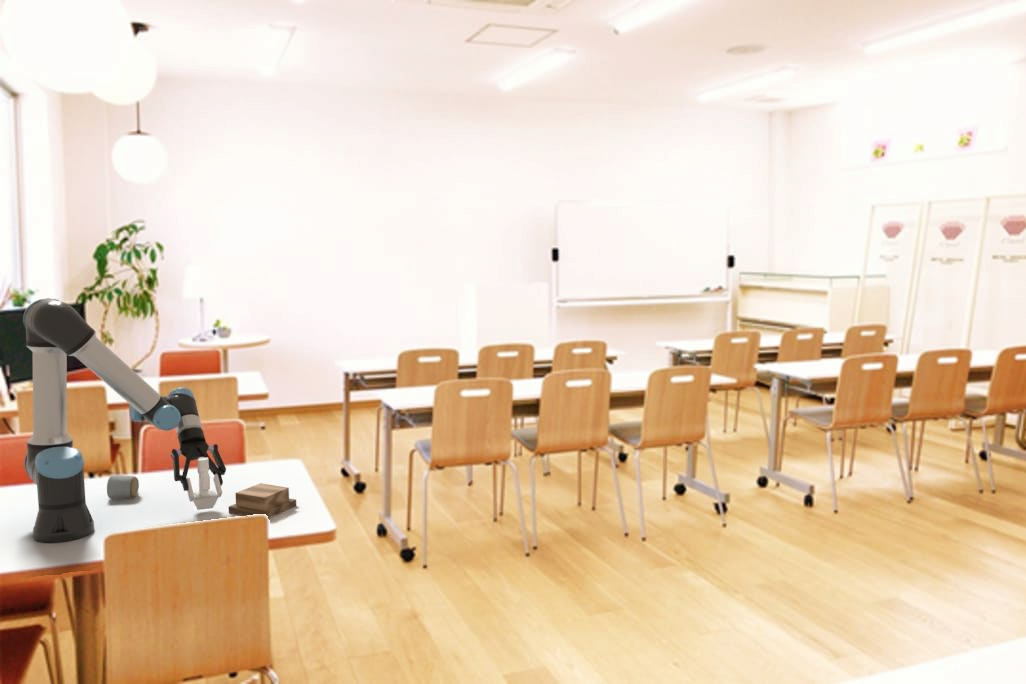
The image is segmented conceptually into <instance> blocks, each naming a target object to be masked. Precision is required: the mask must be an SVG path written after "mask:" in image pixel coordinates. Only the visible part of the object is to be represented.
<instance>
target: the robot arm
mask: <svg viewBox="0 0 1026 684" xmlns="http://www.w3.org/2000/svg"><path fill="white" fill-rule="evenodd" d="M22 322H23V326H24V328H25V332H26V333H25V336H26V337H25V338H26V339H25V340H26V343H25V344H26V348H28V349H29V350H30V351H31V352H32V435H31V437H29V438H28V439H27V442H26V445H27V446H26V451H27V452H26V454H25V457H24V461H23V465H24V470H25V473H26V474H27V476H28V477H29V478H30V480H32V481H33V483H35V485H36V489H37V504H38V511H37V514H36V515H37V516H36V518H35V522H34V526H33V528H32V529H33V530H32V536H33V540H35V541H37V542H40V543H60V542H61V543H62V542H69V541H73V540H78V539H80V538H83V537H87V536H88V535H90V534H92V533H93V532H94V530H95V522H94V519H93V517H92V515H91V512H90V510H89V507H88V506H87V504H86V503H87V501H86V487H85V484H86V483H85V472H84V469H85V467H84V465H85V461H84V458H83V457H84V456H83V453H82V452H81V451H80V450H79V449H78V448H76V447H74V445H73V444H74V443H73V442H74V441H73V440H74V438H73V437H72V436H71V435H70V434H68V428H67V427H68V419H67V418H68V414H67V413H68V411H67V410H68V409H67V408H68V401H67V400H68V397H67V396H68V394H67V392H68V391H67V390H68V389H67V387H68V385H67V382H68V380H67V379H68V378H67V377H68V375H67V373H68V372H67V371H68V370H67V363H68V362H67V361H68V360H67V356H68V357H75V358H76V359H77V360H78V361H80V363H82V364H83V365H84V366H85V367H86V368H88V370H90V371H91V372H92V373H94V374H95V375H96V377H97V378H99V379H100V380H102V382H103V383H105V384H106V385H107V386H108V387H109V388H111V389H112V390H113V391H114V392H115V393H116V394H117V395H119V397H121V398H122V399H123V400H124V401H125V402H127V403H128V404H129V406H128V407H129V409H128V412H129V418H130V420H131V421H132V422H135V423H138V422H139V423H144V422H145V423H146V422H147V423H148V424H150V425H153V426H154V427H155V428H156V429H158V430H161V431H165V432H166V431H172V430H174V429H175V431H176V434H177V435H176V436H177V439H178V444H179V448H178V449H176V448H173V449H172V450H171V451H170V452H171V453H170V456H171V459H172V462H173V463H172V464H173V479H174V482H180V484H181V486H182V487H183V492H186V491H187V495H188V500H189V502H193V499H194V494H193V493H194V490H193V486H192V481H191V478H190V477H188V474H189V473H188V472H189V468H190V463H191V461H197V460H198V458H199V457H205V458H206V457H207V458H208V459H209V471H210V472H211V473H212V474H213V478H212V479H213V482H214V488H215V492H216V494H217V495H218V498H221V497H222V494H223V490H222V486H223V483H224V482H223V481H224V480H223V478H222V476H224V475H225V474H226V472H227V468H226V465H225V463H224V461H223V458H222V457H221V454H220V452H219V445H218V444H217V443H216V444H213V445H209V443H207V441H206V437H205V432H204V430H203V426H202V422H201V418H200V416H199V410H198V407H197V400H196V399H195V395H194V393H193V391H192V390H191V389H190V388H188V387H178V388H174V389H172V390H171V391H170V392H169V393H168V395H167V396H162V395H161V394H160V393H158V391H156V390H155V388H154V387H152V386H151V385H150V384H149V383H147V382H146V381H145V380H144V379H143V378H142V377H141V376H140V375H139V374H137V372H136V371H134V370H133V369H132V368H131V367H130V366H129V365H128V364H127V363H125V361H123V360H122V359H121V358H120V357H119V356H118V355H117V354H116V353H114V351H113V350H111V349H110V348H109V347H108V346H107V345H106V344H105V343H104V342H103V341H101V340H100V339H99V338H98V337H97V335H96V334H97V333H96V330H95V329H94V328H93V327H92V326H90V324H89V323H87V322H86V321H85V319H84V318H83V317H82V316H81V315H80V313H78V312H77V310H76V309H75V308H74V307H73V306H71V305H70V304H69V303H67V302H64V301H62V300H61V301H60V300H59V299H56V298H51V297H50V298H49V297H47V298H41V299H38V300H35V301H33V302H32V303H30V304H29V305H28V306H27V307H26V309H25V310H24V313H23V317H22ZM208 451H209V452H210V453H211V455H212V458H213V460H212V458H210V456H209V454H208ZM180 455H181V456H183V457H185V461H184V462H185V463H184V467H183V470H182V474H181V473H180V470H181V469H180Z"/></svg>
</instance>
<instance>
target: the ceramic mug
mask: <svg viewBox="0 0 1026 684" xmlns="http://www.w3.org/2000/svg"><path fill="white" fill-rule="evenodd" d="M139 487H140V483H139V478H138V477H136V476H133V475H124V474H123V475H122V474H111V475H110V476H109V478H108V479H107V483H106V494H107V498H109V499H132V498H134V497H136V496H137V494H138V492H139V489H140V488H139Z"/></svg>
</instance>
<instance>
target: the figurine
mask: <svg viewBox="0 0 1026 684" xmlns="http://www.w3.org/2000/svg"><path fill="white" fill-rule="evenodd" d="M196 461H197V462H196V463H197V464H196V465H197V467H196V469H197V474H198V486H199V487H198V488H199V490H198V492H197V491H196V492H193V494H194V499H193V501H192V502H193V503H194V506H195V507H196V510H197V511H200V510H207V509H214V507H215V505H216V503H217V501H218V500H219V497H218V495H217V491H216V490H210V489H211V476H210V473H209V471H210V469H209V459H208V458H207V457H206V458H205V457H199V458H198V460H197V459H196Z"/></svg>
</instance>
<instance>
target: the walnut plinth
mask: <svg viewBox="0 0 1026 684" xmlns="http://www.w3.org/2000/svg"><path fill="white" fill-rule="evenodd" d="M295 507H297V499H295V498H290V488H289V487H288V486H287V487H285V486H280V485H275V484H268V483H261V482H260V483H257V484H255V485H252V486H249V487H247V488H245V489H242V490H240V491H236V492H235V503H234V504H232V505H229V506H228V514H232V515H238V516H242V517H245V516H244V515H253V514H266V515H267V516H268V519H271V518H272V517H274V516H277V515H279V514H281V513H283V512H286V511H288V510H291V509H293V508H295Z"/></svg>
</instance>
